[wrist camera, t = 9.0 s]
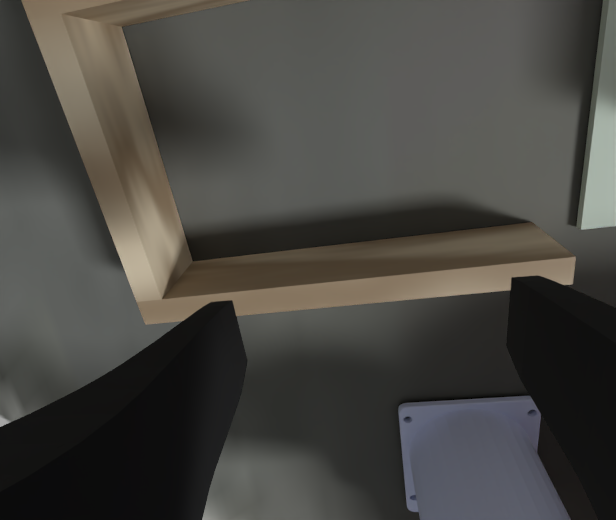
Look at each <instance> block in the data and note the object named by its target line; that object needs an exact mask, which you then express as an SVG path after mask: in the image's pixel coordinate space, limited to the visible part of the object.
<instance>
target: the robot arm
mask: <svg viewBox="0 0 616 520" xmlns="http://www.w3.org/2000/svg"><path fill="white" fill-rule="evenodd" d="M506 346H507V348H508V351H509V353H510V356H511V358H512V361H513V363H514V365H515V368H516V370H517V372H518V374H519V377H520V379H521V381H522V383H523V384H524V386H525V388H526V390H527V391H528V393H529V395H530V396H514V397H497V398H480V399H463V400H446V401H429V402H412V403H403V404H401V405H400V406H399V407H398V415H399V426H400V437H401V448H402V459H403V470H404V481H405V492H406V503H407V508H408V509H409V510H410V511H412V512H419V517H420V520H571V519H570V517H569V515H568V513H567V511H566V509H565V507H564V505H563V503H562V501H561V499H560V497H559V495H558V493H557V491H556V489H555V487H554V485H553V483H552V482H551V480H550V478H549V476H548V474H547V472H546V470H545V468H544V466H543V464H542V462H541V460H540V458H539V456H538V454H537V450H538V440H539V430H540V420H541V415H542V416H543V418H544V420H545V421H546V423H547V425H548V426H549V428H550V430H551V431H552V433H553V435H554V436H555V438H556V440H557V441H558V443H559V445H560V446H561V448H562V450H563V451H564V453H565V455H566V456H567V458H568V460H569V461H570V463H571V465H572V467H573V468H574V470H575V472H576V474H577V476H578V478H579V479H580V481H581V483H582V485H583V487H584V489H585V491H586V494H587V496H588V498H589V500H590V502H591V504H592V506H593V508H594V510H595V512H596V515H597V517H598V519H599V520H616V308H614V307H612V306H610V305H607V304H605V303H603V302H601V301H598V300H596V299H594V298H591V297H589V296H587V295H585V294H582V293H580V292H578V291H576V290H574V289H571V288H569V287H567V286H564V285H562V284H560V283H557V282H555V281H552V280H550V279H547V278H545V277H541V276H538V275H536V276H523V277H512V278H511V291H510V304H509V317H508V331H507V344H506ZM246 366H247V357H246V353H245V349H244V345H243V341H242V337H241V333H240V329H239V325H238V321H237V317H236V313H235V309H234V305H233V301H232V300H228V301H216V302H210V303H208V304H206V305H205V306H203V307H202V308H200V309H199V310H197V311H196V312H195V313H193V314H192V315H190V316H189V317H188V318H186V319H185V320H184V321H182V322H181V323H180V324H178V325H177V326H176V327H174V328H173V329H171V330H170V331H169V332H167V333H166V334H165V335H163V336H162V337H161V338H159V339H158V340H156V341H155V342H154V343H152V344H151V345H149V346H148V347H146V348H145V349H143V350H142V351H140V352H139V353H138V354H136V355H135V356H133V357H132V358H130V359H129V360H127V361H126V362H124V363H123V364H121V365H120V366H118V367H116V368H115V369H113V370H112V371H110V372H108V373H107V374H105V375H103V376H102V377H100V378H98V379H96V380H95V381H93V382H91V383H89V384H88V385H86V386H84V387H82V388H81V389H79V390H77V391H75V392H73V393H71V394H69V395H67V396H65V397H63V398H61V399H59V400H57V401H55V402H53V403H51V404H49V405H47V406H45V407H43V408H41V409H39V410H37V411H35V412H33V413H31V414H29V415H26V416H24V417H22V418H20V419H17V420H15V421H13V422H11V423H8V424H6V425H4V426H2V427H0V520H202V517H203V513H204V509H205V505H206V501H207V496H208V492H209V488H210V485H211V481H212V478H213V475H214V471H215V468H216V466H217V463H218V460H219V457H220V454H221V451H222V448H223V445H224V443H225V440H226V437H227V434H228V431H229V428H230V425H231V422H232V419H233V416H234V414H235V411H236V408H237V405H238V402H239V399H240V395H241V392H242V387H243V382H244V377H245V371H246ZM530 410H532V411H530ZM405 417H409V418H405Z"/></svg>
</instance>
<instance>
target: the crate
mask: <svg viewBox="0 0 616 520" xmlns="http://www.w3.org/2000/svg"><path fill="white" fill-rule="evenodd" d="M21 1H22V3H23V6H24V9H25V11H26V14H27V16H28V19H29V22H30V24H31V27H32V29H33V32H34V35H35V37H36V40H37V43H38V45H39V48H40V50H41V53H42V56H43V58H44V61H45V63H46V66H47V69H48V71H49V74H50V77H51V79H52V82H53V84H54V87H55V90H56V92H57V95H58V97H59V100H60V103H61V105H62V108H63V111H64V113H65V116H66V118H67V121H68V124H69V126H70V129H71V131H72V134H73V137H74V139H75V142H76V145H77V147H78V150H79V152H80V155H81V158H82V160H83V163H84V165H85V168H86V171H87V173H88V176H89V178H90V181H91V184H92V186H93V189H94V192H95V194H96V197H97V199H98V202H99V205H100V207H101V210H102V212H103V215H104V218H105V220H106V223H107V226H108V228H109V231H110V233H111V236H112V239H113V241H114V244H115V246H116V249H117V252H118V254H119V257H120V260H121V262H122V265H123V267H124V270H125V273H126V275H127V278H128V280H129V283H130V286H131V288H132V291H133V294H134V296H135V299H136V301H137V304H138V307H139V309H140V312H141V314H142V317H143V320H144V322H145V324H156V323H167V322H177V321H184V320H185V319H186V318H188V317H189V316H190V315H192V314H193V313H195V312H196V311H197V310H199V309H200V308H202V307H203V306H205V305H206V304H208V303H210V302H216V301H228V300H232V301H233V305H234V309H235V313H236V316H241V315H252V314H262V313H273V312H284V311H294V310H305V309H316V308H326V307H337V306H347V305H358V304H369V303H379V302H390V301H401V300H411V299H422V298H433V297H443V296H454V295H464V294H475V293H486V292H496V291H507V290H511V278H512V277H523V276H536V275H538V276H541V277H545V278H547V279H550V280H552V281H555V282H557V283H560V284H562V285H571V284H573V278H574V270H575V261H576V256H574V255H573V254H572V253H571V252H569V251H568V250H567V249H565V248H564V247H563V246H562V245H560V244H559V243H558V242H557V241H555V240H554V239H553V238H551V237H550V236H549V235H548V234H546V233H545V232H544V231H543V230H541V229H540V228H539V227H537V226H536V225H535V224H534V223H532V222H529V223H520V224H512V225H503V226H494V227H486V228H477V229H468V230H460V231H451V232H443V233H434V234H425V235H417V236H408V237H399V238H391V239H382V240H373V241H365V242H356V243H348V244H339V245H330V246H322V247H313V248H304V249H296V250H287V251H278V252H270V253H261V254H252V255H244V256H235V257H227V258H218V259H209V260H201V261H193V260H192V257H191V254H190V251H189V247H188V244H187V241H186V237H185V234H184V231H183V227H182V224H181V221H180V218H179V214H178V211H177V208H176V204H175V201H174V198H173V194H172V191H171V188H170V185H169V181H168V178H167V175H166V171H165V168H164V165H163V161H162V158H161V155H160V152H159V148H158V145H157V142H156V138H155V135H154V132H153V128H152V125H151V122H150V119H149V115H148V112H147V109H146V105H145V102H144V99H143V96H142V92H141V89H140V86H139V82H138V79H137V76H136V72H135V69H134V66H133V63H132V59H131V56H130V53H129V49H128V46H127V43H126V39H125V36H124V33H123V30H122V27H124V26H128V25H133V24H138V23H143V22H148V21H152V20H157V19H162V18H167V17H172V16H176V15H181V14H186V13H191V12H196V11H200V10H205V9H210V8H215V7H220V6H224V5H229V4H234V3H239V2H244V1H248V0H21Z"/></svg>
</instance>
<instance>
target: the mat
mask: <svg viewBox="0 0 616 520" xmlns="http://www.w3.org/2000/svg"><path fill="white" fill-rule="evenodd" d="M611 226H616V0H603V5H602V14H601V22H600V31H599V39H598V47H597V56H596V64H595V73H594V81H593V90H592V98H591V107H590V115H589V124H588V132H587V141H586V149H585V158H584V166H583V174H582V183H581V191H580V200H579V208H578V217H577V225H576V227H577V228H579V229H580V230H584V229H593V228H602V227H611Z"/></svg>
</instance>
